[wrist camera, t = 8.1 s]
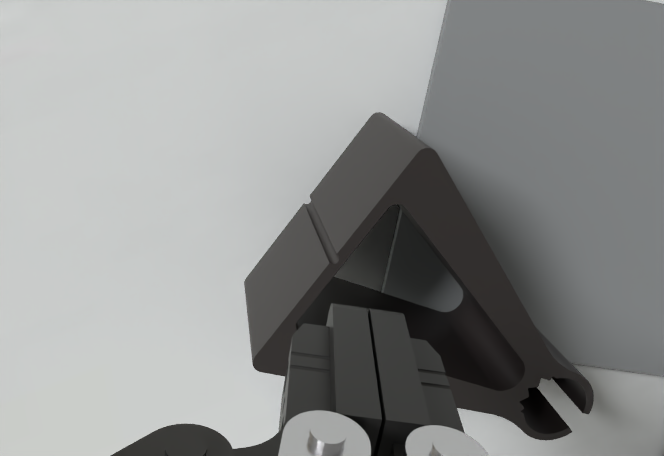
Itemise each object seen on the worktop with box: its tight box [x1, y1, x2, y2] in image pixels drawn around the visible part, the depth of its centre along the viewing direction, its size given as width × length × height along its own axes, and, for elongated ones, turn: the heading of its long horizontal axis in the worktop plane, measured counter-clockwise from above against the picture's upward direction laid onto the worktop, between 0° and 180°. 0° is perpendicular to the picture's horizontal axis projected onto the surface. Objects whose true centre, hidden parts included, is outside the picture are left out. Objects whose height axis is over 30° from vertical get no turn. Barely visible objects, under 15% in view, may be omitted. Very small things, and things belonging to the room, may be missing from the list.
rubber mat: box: [381, 0, 664, 376], centre depth 27 cm, size 15×16×1 cm
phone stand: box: [244, 112, 593, 440], centre depth 24 cm, size 9×6×12 cm
